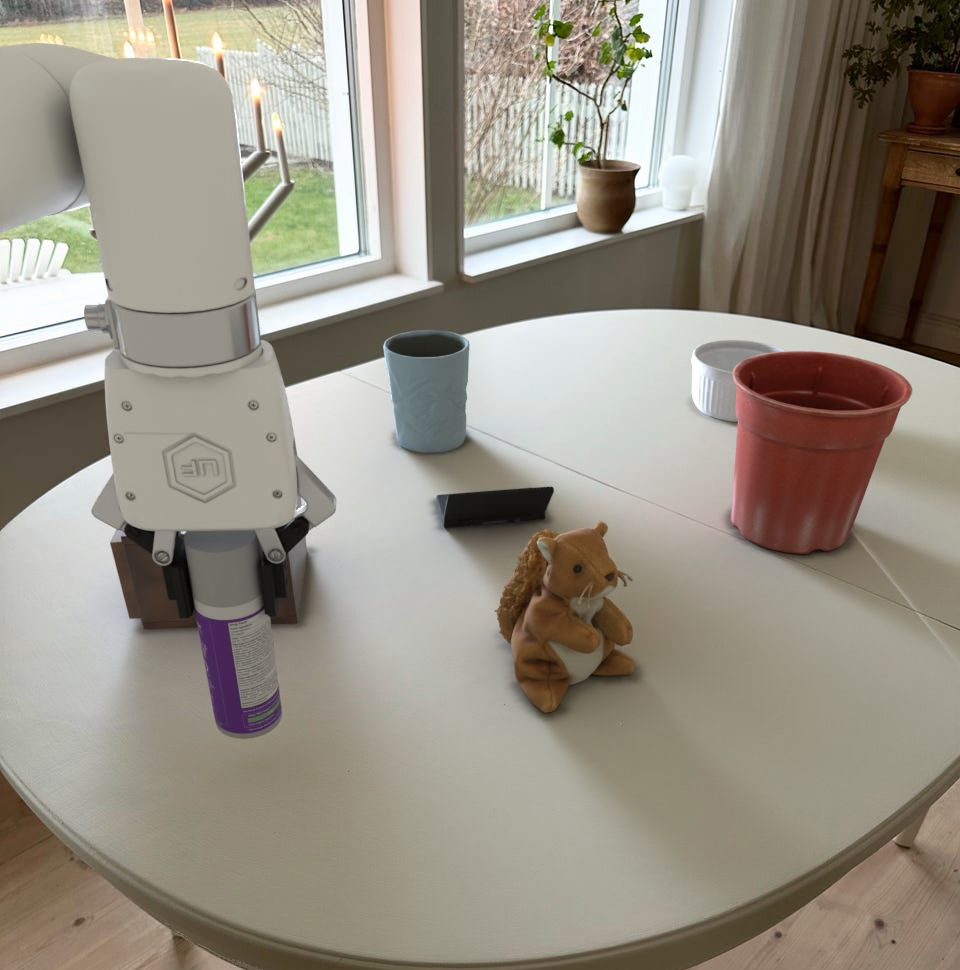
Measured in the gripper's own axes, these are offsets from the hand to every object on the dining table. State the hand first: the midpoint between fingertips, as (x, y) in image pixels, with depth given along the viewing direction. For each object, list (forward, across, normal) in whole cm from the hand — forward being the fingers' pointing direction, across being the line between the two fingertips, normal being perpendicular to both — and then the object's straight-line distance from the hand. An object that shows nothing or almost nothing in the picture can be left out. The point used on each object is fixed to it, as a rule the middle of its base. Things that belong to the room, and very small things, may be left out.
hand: (231, 603), depth 62 cm
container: (+10, 0, 0) cm, 10 cm away
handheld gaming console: (+15, +21, +37) cm, 45 cm away
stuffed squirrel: (+14, +24, +12) cm, 30 cm away
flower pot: (+14, +52, +33) cm, 63 cm away
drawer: (+14, -7, +25) cm, 29 cm away
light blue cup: (+15, +15, +58) cm, 61 cm away
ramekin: (+14, +56, +65) cm, 87 cm away
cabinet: (+15, -5, +25) cm, 29 cm away
